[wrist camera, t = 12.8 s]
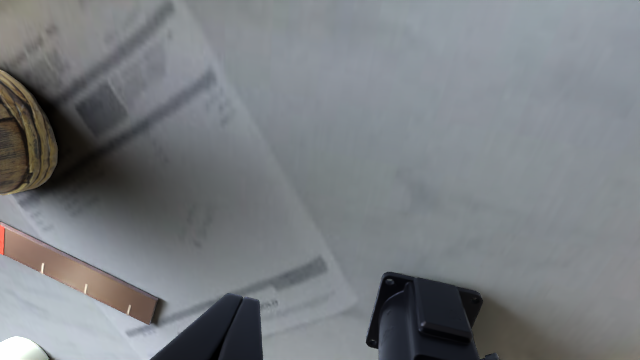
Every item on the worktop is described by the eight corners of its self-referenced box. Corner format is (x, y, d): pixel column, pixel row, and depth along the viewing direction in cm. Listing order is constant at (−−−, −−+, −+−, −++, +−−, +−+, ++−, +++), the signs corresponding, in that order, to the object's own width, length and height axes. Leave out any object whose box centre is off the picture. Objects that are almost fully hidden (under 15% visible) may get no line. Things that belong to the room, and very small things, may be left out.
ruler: (158, 298, 27) (156, 301, 26) (151, 322, 28) (148, 325, 27) (-63, 191, 27) (-68, 192, 26) (-61, 219, 28) (-66, 221, 27)
